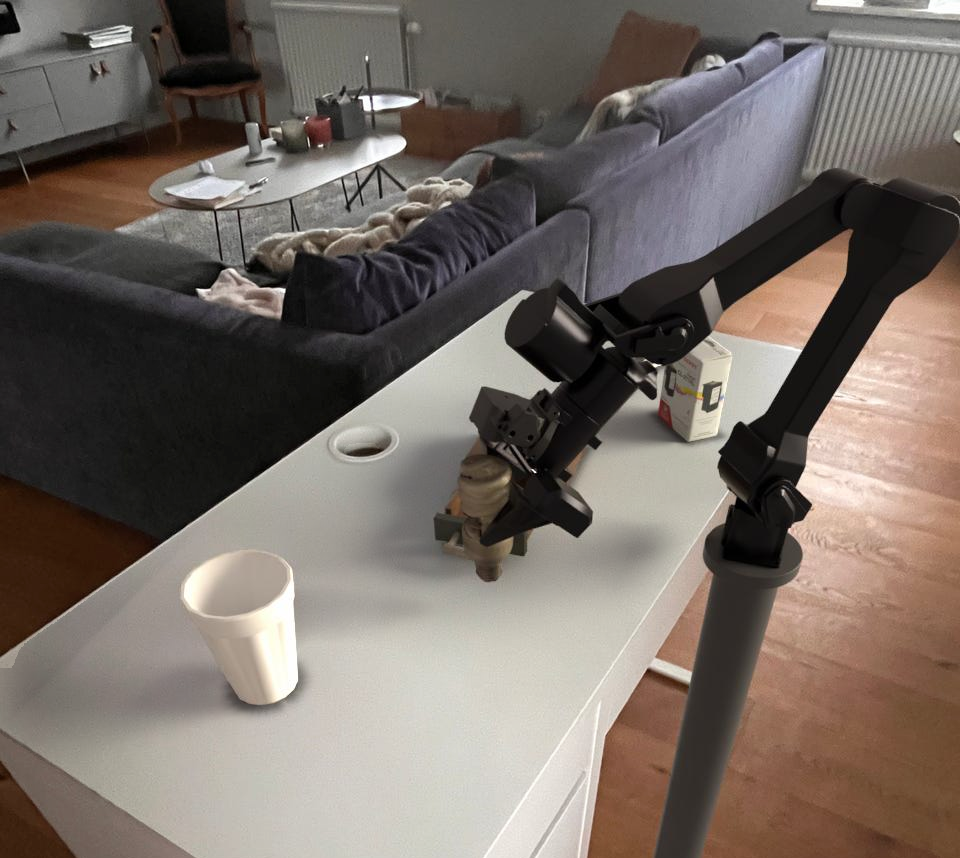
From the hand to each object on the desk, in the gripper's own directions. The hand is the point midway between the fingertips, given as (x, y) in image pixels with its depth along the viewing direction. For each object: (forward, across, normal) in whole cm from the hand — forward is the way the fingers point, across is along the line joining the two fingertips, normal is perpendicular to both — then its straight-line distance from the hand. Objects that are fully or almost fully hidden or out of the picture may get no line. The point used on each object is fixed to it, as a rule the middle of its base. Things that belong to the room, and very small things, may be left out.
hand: (473, 529), depth 82 cm
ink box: (-20, -27, +36) cm, 49 cm away
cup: (+24, +4, -9) cm, 26 cm away
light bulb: (+4, 0, +6) cm, 7 cm away
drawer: (+2, -13, +11) cm, 17 cm away
